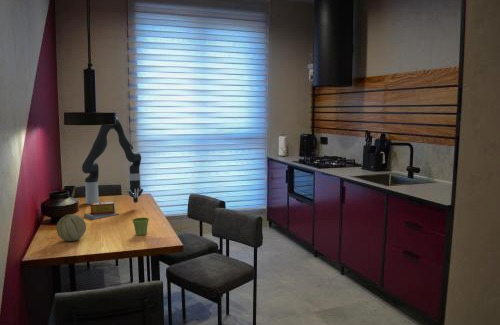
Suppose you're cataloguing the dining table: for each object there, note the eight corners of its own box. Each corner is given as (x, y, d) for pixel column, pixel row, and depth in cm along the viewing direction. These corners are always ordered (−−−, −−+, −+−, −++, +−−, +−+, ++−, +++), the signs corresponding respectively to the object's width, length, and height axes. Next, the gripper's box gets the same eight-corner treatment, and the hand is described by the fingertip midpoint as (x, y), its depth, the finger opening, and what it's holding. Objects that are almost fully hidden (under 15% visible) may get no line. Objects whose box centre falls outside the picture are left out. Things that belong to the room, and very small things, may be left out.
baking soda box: (114, 203, 288) (89, 205, 285) (114, 212, 289) (90, 214, 285) (115, 201, 298) (92, 202, 294) (116, 210, 298) (92, 211, 295)
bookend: (84, 217, 279) (83, 213, 279) (109, 212, 294) (109, 208, 294) (93, 219, 272) (92, 216, 271) (119, 214, 286) (119, 211, 286)
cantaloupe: (92, 237, 231) (90, 211, 229) (75, 245, 217) (74, 217, 215) (68, 236, 234) (67, 210, 233) (51, 243, 220) (49, 216, 219)
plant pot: (141, 237, 231) (140, 222, 230) (129, 235, 236) (128, 220, 235) (153, 233, 240) (152, 218, 239) (140, 231, 244) (140, 216, 243)
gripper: (139, 177, 310) (140, 200, 312) (124, 179, 300) (124, 203, 302) (145, 178, 305) (146, 201, 307) (129, 180, 295) (130, 204, 297)
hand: (135, 202), depth 305 cm, fingers closed
